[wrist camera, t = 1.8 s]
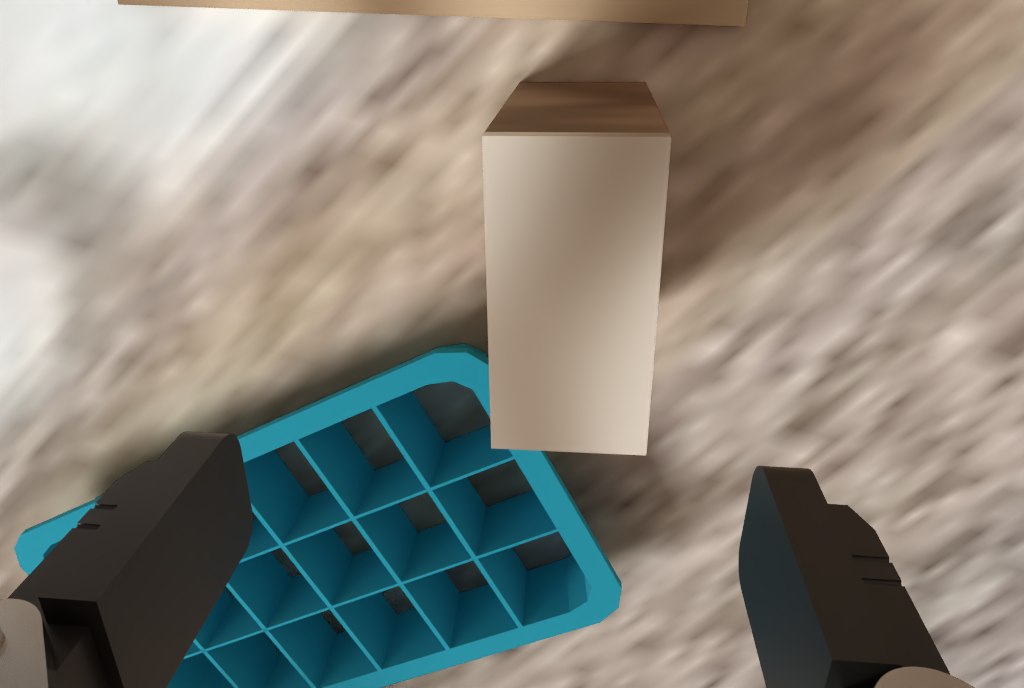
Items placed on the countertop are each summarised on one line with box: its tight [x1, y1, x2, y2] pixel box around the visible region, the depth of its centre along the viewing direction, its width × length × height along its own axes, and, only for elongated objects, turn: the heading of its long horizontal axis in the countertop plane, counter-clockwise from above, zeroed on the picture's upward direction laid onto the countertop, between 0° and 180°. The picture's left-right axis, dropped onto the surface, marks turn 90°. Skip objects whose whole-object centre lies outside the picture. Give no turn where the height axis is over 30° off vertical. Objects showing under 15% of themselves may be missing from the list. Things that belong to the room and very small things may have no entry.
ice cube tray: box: [15, 344, 621, 688], centre depth 28 cm, size 12×20×3 cm, turn 117°
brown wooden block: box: [482, 82, 671, 455], centre depth 19 cm, size 4×7×8 cm, turn 1°
